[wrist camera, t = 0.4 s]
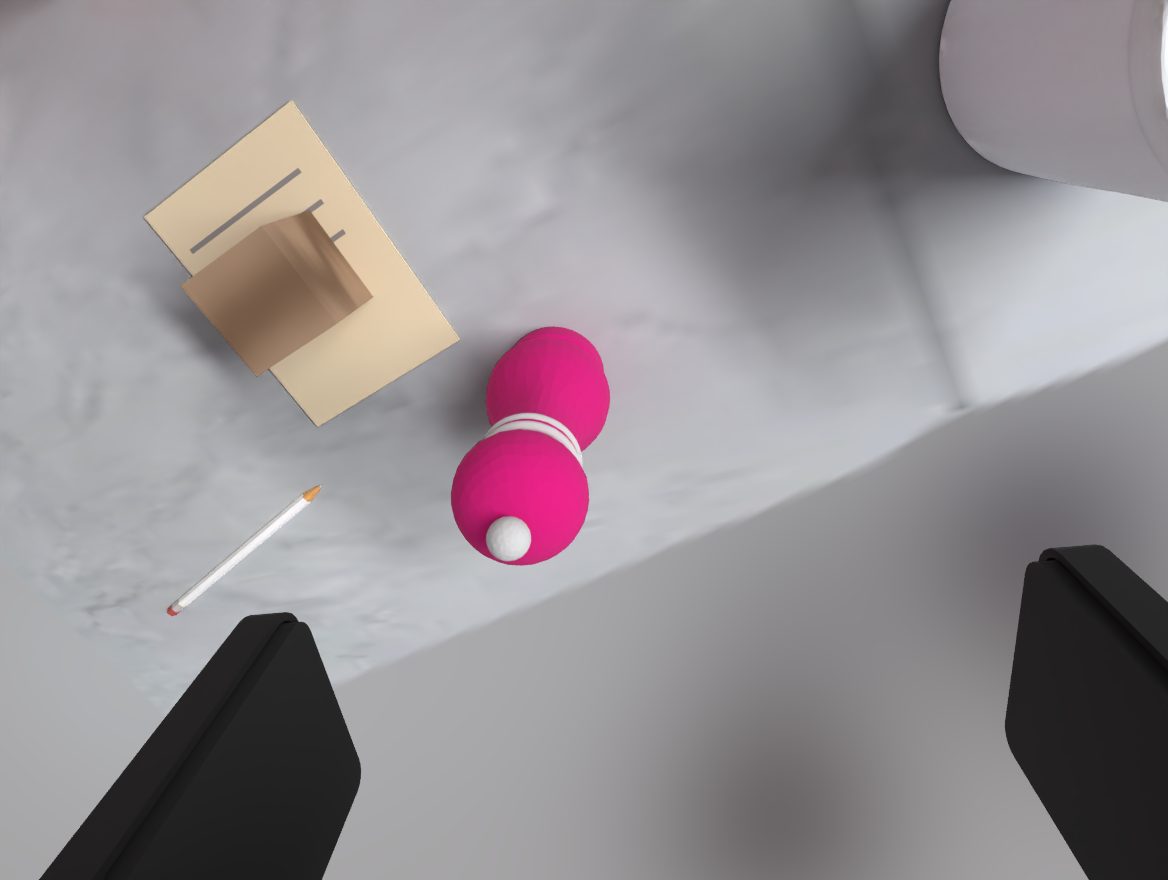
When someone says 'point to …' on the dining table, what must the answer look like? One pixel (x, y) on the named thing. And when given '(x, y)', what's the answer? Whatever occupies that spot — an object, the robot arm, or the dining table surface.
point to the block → (277, 290)
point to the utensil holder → (1062, 89)
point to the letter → (315, 182)
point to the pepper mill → (533, 449)
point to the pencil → (244, 550)
